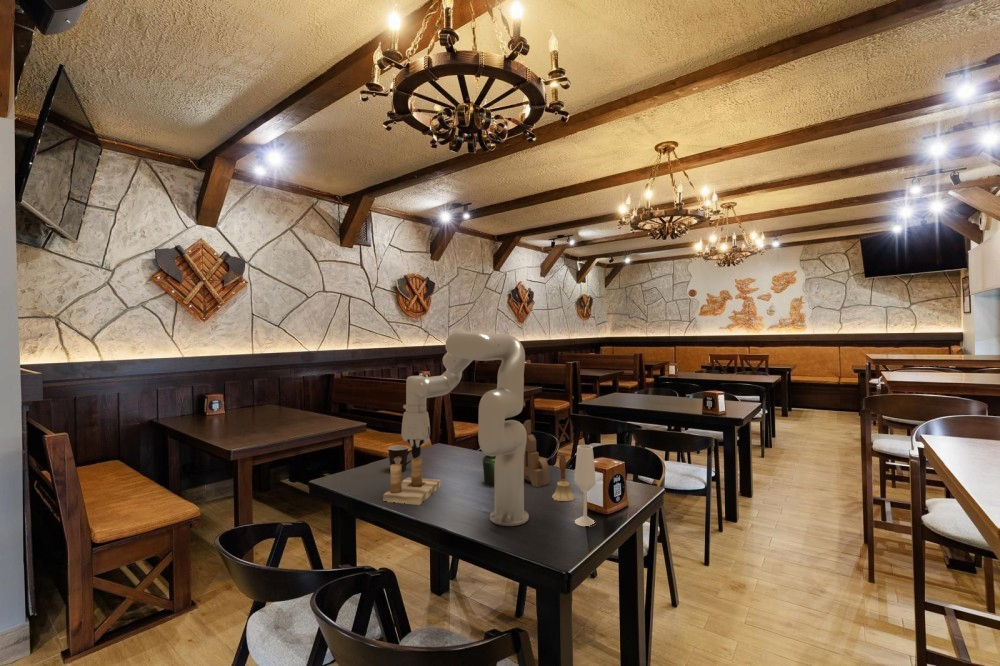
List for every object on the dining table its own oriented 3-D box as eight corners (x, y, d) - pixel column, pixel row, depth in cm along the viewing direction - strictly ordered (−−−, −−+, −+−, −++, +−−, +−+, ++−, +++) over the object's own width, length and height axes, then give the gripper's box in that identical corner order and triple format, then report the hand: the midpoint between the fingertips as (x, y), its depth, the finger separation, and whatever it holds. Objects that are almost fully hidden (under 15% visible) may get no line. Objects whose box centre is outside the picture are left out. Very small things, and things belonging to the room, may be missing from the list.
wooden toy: (549, 484, 183) (549, 421, 183) (537, 487, 179) (537, 423, 179) (523, 474, 195) (523, 415, 195) (511, 478, 191) (511, 417, 191)
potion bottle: (488, 479, 189) (488, 435, 189) (506, 482, 185) (506, 437, 185) (478, 485, 182) (478, 439, 182) (496, 488, 178) (496, 441, 178)
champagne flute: (570, 519, 148) (570, 445, 148) (587, 516, 151) (587, 443, 151) (582, 528, 142) (582, 450, 142) (600, 524, 145) (600, 447, 144)
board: (419, 505, 161) (419, 470, 161) (383, 501, 164) (383, 467, 164) (440, 486, 180) (440, 455, 180) (407, 483, 184) (407, 453, 184)
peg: (419, 493, 173) (419, 461, 173) (409, 492, 174) (409, 460, 174) (423, 489, 177) (423, 458, 177) (414, 488, 178) (414, 457, 178)
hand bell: (565, 503, 162) (565, 458, 162) (547, 498, 168) (547, 454, 168) (579, 497, 168) (579, 454, 168) (560, 492, 174) (560, 450, 174)
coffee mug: (384, 472, 198) (384, 449, 198) (394, 467, 206) (394, 444, 206) (408, 475, 195) (408, 451, 195) (418, 469, 203) (418, 446, 203)
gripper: (393, 409, 173) (393, 458, 173) (430, 411, 170) (430, 460, 170) (402, 406, 181) (402, 452, 181) (438, 407, 177) (438, 455, 177)
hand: (416, 456), depth 175 cm, fingers closed
